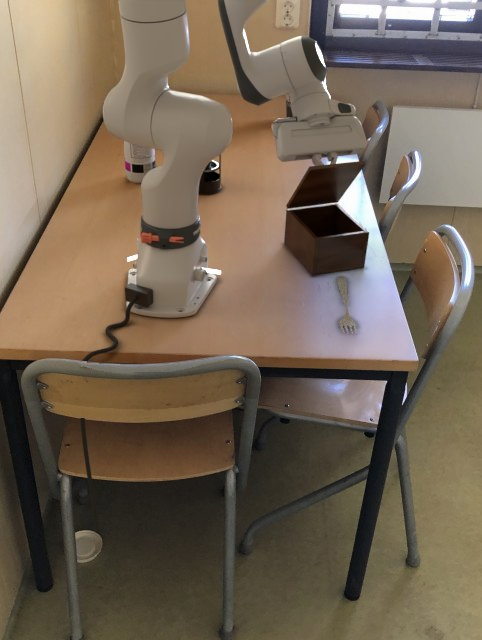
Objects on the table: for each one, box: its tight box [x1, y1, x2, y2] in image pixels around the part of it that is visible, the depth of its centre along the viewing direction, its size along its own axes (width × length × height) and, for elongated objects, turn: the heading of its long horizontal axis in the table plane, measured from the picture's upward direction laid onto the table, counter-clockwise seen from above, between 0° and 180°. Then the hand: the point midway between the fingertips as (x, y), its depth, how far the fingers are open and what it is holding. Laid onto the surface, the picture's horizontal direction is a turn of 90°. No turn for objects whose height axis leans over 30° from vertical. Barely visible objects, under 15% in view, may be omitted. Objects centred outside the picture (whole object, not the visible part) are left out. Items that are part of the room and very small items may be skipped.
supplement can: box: [122, 140, 157, 184], centre depth 188 cm, size 8×8×15 cm
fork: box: [336, 276, 358, 336], centre depth 141 cm, size 3×24×2 cm, turn 178°
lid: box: [285, 160, 366, 209], centre depth 152 cm, size 17×13×1 cm
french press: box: [198, 154, 222, 195], centre depth 183 cm, size 12×9×23 cm
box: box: [283, 202, 370, 277], centre depth 157 cm, size 16×13×9 cm
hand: (329, 175), depth 149 cm, fingers closed, pressing on lid
